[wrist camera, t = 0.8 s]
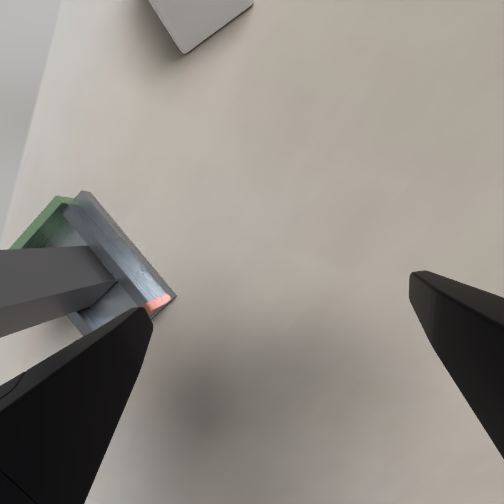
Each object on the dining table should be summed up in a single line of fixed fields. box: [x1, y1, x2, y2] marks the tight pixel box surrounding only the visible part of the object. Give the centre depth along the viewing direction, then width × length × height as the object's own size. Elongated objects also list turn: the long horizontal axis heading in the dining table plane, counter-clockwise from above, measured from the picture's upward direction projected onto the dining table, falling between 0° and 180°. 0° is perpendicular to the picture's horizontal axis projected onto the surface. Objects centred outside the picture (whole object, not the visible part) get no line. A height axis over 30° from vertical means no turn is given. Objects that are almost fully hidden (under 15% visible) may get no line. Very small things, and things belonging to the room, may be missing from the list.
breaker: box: [0, 246, 117, 338], centre depth 18 cm, size 4×4×13 cm
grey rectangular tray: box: [9, 191, 176, 336], centre depth 24 cm, size 13×9×3 cm
